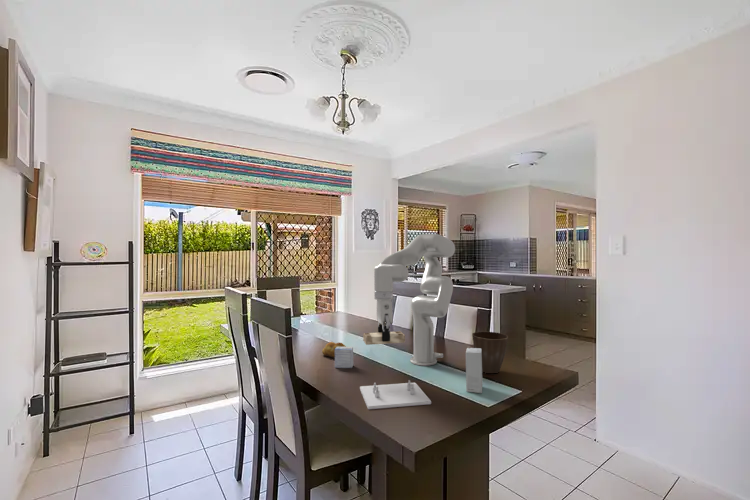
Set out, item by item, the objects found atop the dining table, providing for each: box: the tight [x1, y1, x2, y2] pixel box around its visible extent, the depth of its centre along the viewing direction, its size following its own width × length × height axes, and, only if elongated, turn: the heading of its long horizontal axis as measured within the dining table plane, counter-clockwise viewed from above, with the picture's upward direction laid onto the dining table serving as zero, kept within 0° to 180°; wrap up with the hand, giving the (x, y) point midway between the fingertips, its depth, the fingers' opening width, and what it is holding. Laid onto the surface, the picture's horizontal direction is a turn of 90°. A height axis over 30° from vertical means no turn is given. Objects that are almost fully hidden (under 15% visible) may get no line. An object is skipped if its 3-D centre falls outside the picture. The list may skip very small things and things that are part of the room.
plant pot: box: [471, 331, 509, 374], centre depth 156 cm, size 15×15×16 cm
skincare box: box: [465, 347, 484, 394], centre depth 136 cm, size 8×6×15 cm
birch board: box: [362, 330, 406, 346], centre depth 146 cm, size 16×7×3 cm, turn 101°
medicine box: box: [334, 346, 354, 369], centre depth 163 cm, size 8×4×9 cm, turn 84°
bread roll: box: [321, 341, 347, 359], centre depth 180 cm, size 13×10×8 cm
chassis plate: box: [359, 379, 432, 410], centre depth 129 cm, size 22×18×4 cm
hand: (383, 338), depth 146 cm, fingers closed on birch board, 7 cm apart
